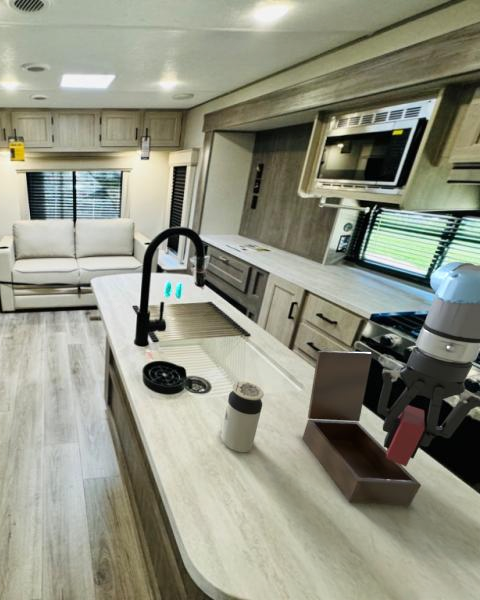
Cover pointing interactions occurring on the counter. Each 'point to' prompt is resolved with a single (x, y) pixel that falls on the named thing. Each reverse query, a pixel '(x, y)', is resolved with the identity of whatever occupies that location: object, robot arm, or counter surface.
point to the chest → (359, 464)
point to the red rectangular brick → (406, 435)
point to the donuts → (169, 287)
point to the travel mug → (242, 416)
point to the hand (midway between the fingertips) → (398, 448)
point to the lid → (339, 385)
